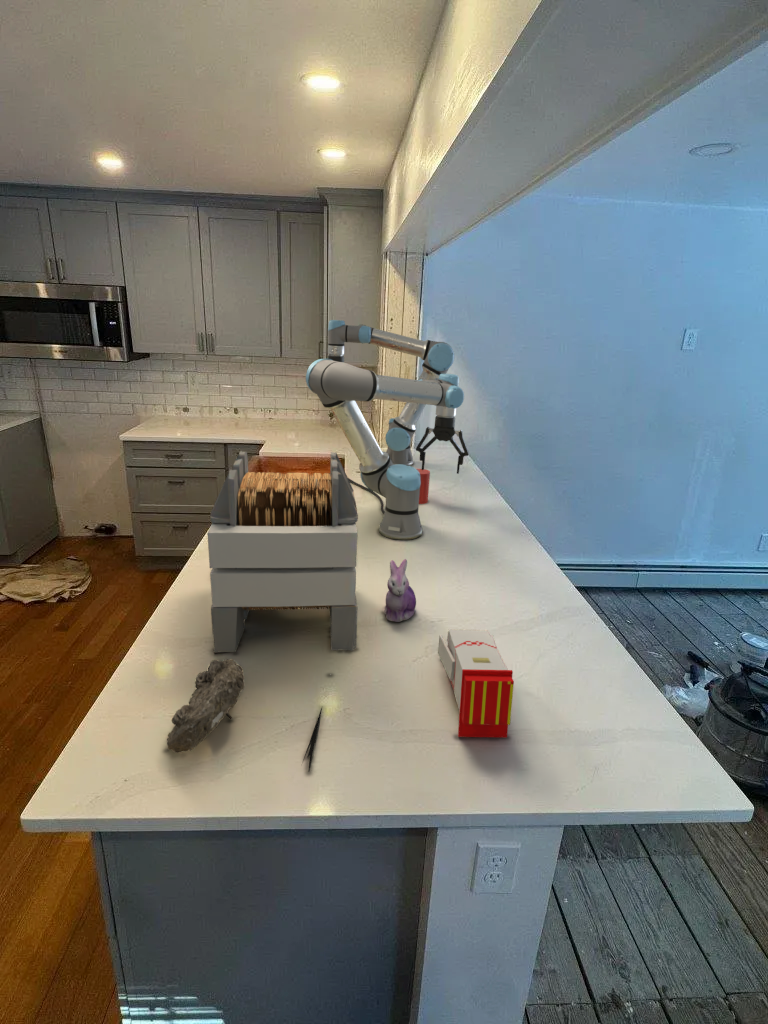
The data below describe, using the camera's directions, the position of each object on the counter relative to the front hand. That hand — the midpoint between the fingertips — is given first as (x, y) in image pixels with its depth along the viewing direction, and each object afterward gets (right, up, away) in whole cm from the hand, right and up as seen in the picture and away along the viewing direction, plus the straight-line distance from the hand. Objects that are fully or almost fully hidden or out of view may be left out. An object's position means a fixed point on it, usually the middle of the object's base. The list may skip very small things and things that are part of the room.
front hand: (440, 471), depth 219 cm
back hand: (-45, +37, +50) cm, 77 cm away
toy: (-4, -53, -101) cm, 114 cm away
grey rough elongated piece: (-55, -55, -111) cm, 136 cm away
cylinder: (-8, -11, +16) cm, 21 cm away
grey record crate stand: (-46, -42, -75) cm, 98 cm away
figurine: (-18, -42, -72) cm, 86 cm away
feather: (-34, -56, -111) cm, 129 cm away
